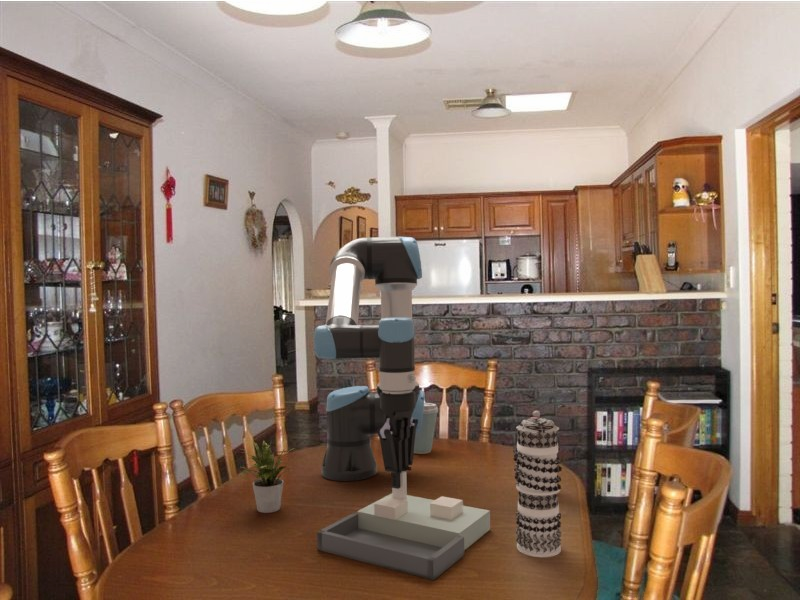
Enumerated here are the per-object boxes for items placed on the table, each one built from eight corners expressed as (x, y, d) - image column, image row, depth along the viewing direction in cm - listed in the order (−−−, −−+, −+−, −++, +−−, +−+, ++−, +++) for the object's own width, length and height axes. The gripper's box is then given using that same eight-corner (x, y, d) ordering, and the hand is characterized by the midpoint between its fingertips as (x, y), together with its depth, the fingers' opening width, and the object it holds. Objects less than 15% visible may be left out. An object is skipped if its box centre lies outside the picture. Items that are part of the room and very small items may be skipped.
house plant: (220, 509, 150) (218, 439, 150) (269, 494, 160) (268, 428, 160) (256, 524, 140) (254, 449, 140) (306, 507, 150) (304, 437, 150)
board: (357, 530, 136) (357, 511, 136) (393, 509, 148) (393, 492, 148) (459, 554, 123) (459, 533, 123) (490, 529, 135) (489, 510, 135)
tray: (317, 549, 126) (317, 532, 126) (353, 529, 136) (353, 512, 136) (433, 580, 112) (433, 560, 112) (464, 555, 122) (464, 536, 122)
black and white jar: (511, 538, 130) (509, 415, 129) (557, 538, 129) (556, 414, 129) (518, 558, 121) (516, 425, 120) (568, 558, 120) (566, 424, 120)
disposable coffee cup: (405, 446, 204) (404, 399, 203) (439, 447, 203) (439, 399, 202) (402, 455, 193) (401, 406, 193) (438, 456, 192) (437, 406, 192)
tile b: (430, 515, 133) (429, 503, 133) (441, 507, 137) (441, 496, 137) (451, 519, 130) (451, 507, 130) (462, 512, 134) (462, 500, 134)
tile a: (374, 515, 133) (374, 503, 133) (387, 508, 137) (387, 496, 137) (394, 520, 130) (394, 507, 130) (407, 512, 135) (407, 500, 134)
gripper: (396, 396, 128) (398, 514, 129) (428, 387, 139) (430, 495, 140) (365, 394, 132) (367, 508, 133) (398, 385, 143) (400, 490, 144)
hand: (399, 501), depth 136 cm, fingers closed
